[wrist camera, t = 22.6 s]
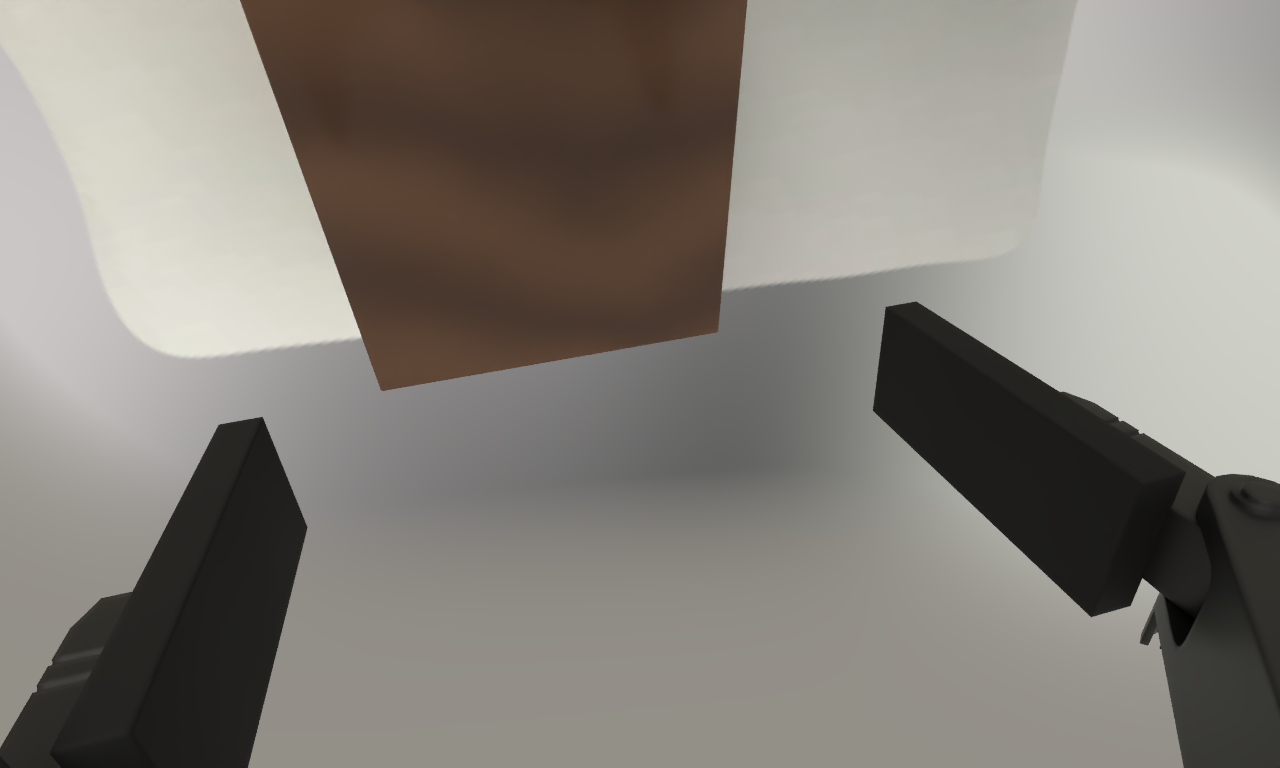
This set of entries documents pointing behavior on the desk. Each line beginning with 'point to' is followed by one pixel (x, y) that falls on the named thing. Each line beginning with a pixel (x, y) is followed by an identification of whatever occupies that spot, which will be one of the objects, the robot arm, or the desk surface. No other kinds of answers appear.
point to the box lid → (512, 169)
